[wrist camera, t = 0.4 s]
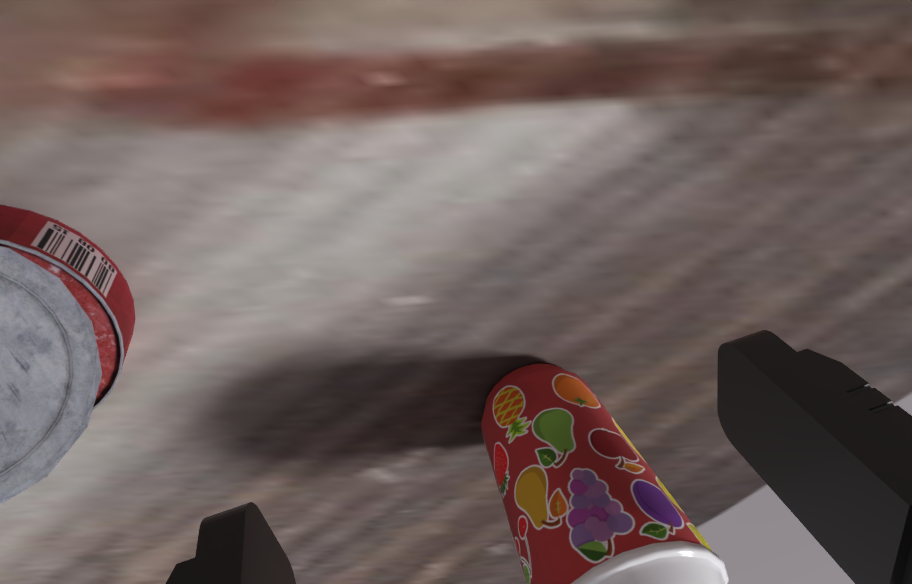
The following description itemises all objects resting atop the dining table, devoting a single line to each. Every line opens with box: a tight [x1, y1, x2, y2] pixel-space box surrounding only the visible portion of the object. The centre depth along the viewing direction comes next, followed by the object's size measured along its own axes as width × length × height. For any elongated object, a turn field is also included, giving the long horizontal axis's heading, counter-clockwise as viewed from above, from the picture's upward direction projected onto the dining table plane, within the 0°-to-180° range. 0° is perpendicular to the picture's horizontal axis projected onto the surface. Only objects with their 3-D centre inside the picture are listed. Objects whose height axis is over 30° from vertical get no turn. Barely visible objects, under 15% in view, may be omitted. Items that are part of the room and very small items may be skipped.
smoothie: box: [481, 364, 729, 584], centre depth 29 cm, size 8×8×20 cm
